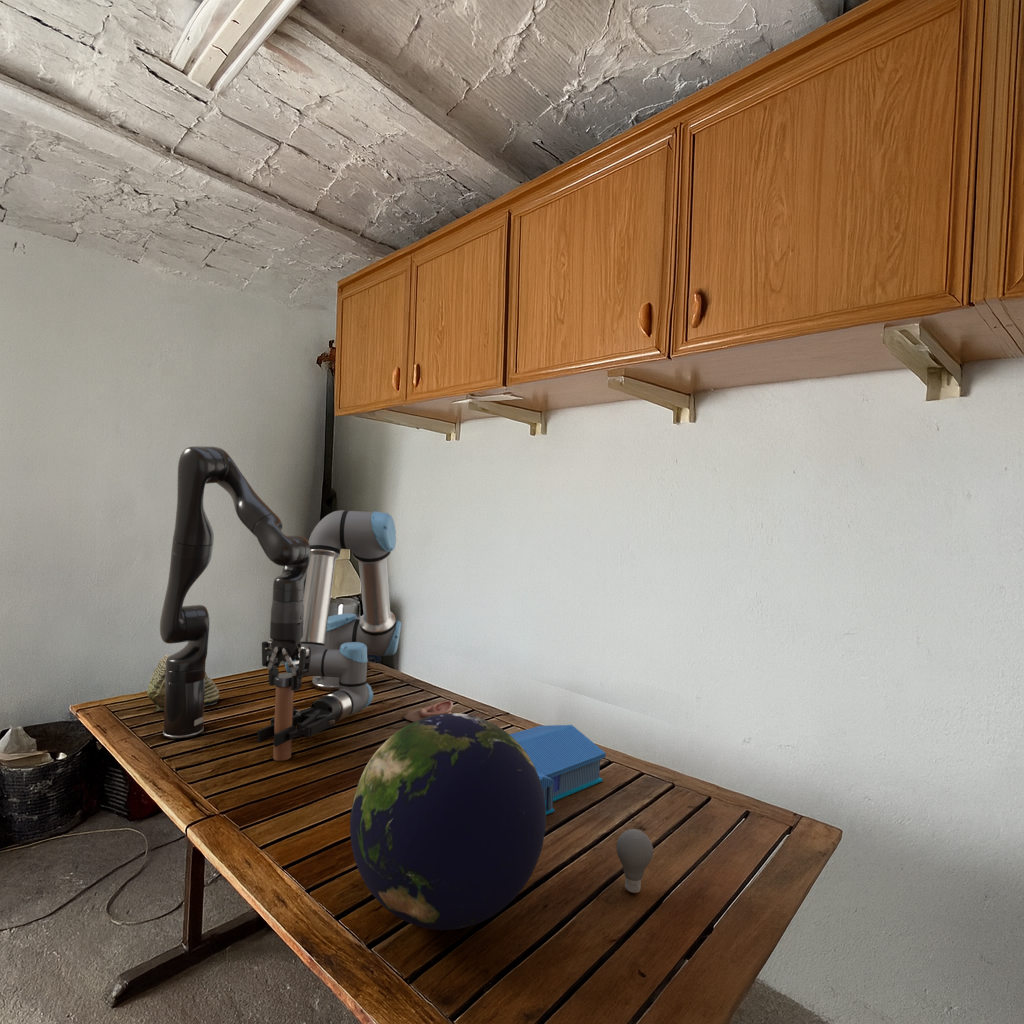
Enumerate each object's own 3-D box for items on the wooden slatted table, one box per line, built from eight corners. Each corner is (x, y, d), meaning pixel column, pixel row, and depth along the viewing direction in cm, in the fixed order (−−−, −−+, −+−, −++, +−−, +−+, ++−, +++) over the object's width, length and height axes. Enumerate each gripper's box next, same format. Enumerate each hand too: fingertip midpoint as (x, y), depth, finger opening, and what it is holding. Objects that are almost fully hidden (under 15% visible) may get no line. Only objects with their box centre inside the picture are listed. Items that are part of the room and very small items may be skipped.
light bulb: (610, 879, 108) (613, 822, 108) (644, 879, 109) (647, 822, 109) (619, 902, 102) (622, 840, 102) (655, 901, 103) (658, 840, 103)
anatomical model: (400, 707, 180) (414, 695, 191) (399, 721, 180) (414, 708, 191) (445, 712, 177) (456, 700, 189) (444, 726, 177) (456, 713, 189)
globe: (302, 941, 90) (310, 732, 90) (412, 840, 118) (419, 680, 117) (494, 1014, 79) (505, 776, 78) (565, 883, 107) (574, 707, 106)
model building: (482, 842, 118) (484, 789, 118) (409, 793, 137) (411, 747, 136) (614, 785, 145) (616, 742, 145) (538, 751, 163) (540, 712, 163)
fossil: (144, 707, 182) (145, 655, 182) (212, 696, 194) (213, 647, 194) (151, 716, 175) (153, 662, 175) (221, 703, 188) (223, 653, 188)
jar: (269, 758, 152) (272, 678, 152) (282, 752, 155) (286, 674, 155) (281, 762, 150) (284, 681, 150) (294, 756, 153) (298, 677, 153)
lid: (276, 688, 149) (277, 679, 149) (272, 682, 153) (272, 674, 153) (297, 685, 152) (298, 677, 152) (292, 680, 156) (293, 671, 156)
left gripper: (253, 617, 152) (250, 686, 152) (298, 625, 145) (295, 696, 146) (277, 613, 159) (275, 679, 159) (321, 620, 152) (318, 688, 153)
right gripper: (356, 728, 166) (295, 761, 144) (303, 717, 172) (237, 747, 151) (358, 700, 166) (297, 729, 144) (304, 690, 172) (238, 716, 151)
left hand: (284, 687), depth 152 cm, fingers open, 6 cm apart
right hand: (266, 738), depth 148 cm, fingers closed on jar, 4 cm apart
